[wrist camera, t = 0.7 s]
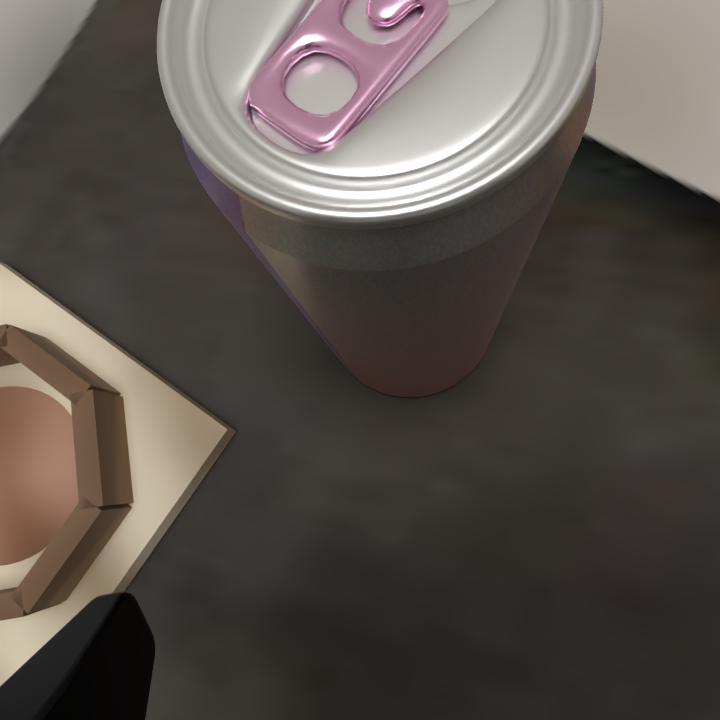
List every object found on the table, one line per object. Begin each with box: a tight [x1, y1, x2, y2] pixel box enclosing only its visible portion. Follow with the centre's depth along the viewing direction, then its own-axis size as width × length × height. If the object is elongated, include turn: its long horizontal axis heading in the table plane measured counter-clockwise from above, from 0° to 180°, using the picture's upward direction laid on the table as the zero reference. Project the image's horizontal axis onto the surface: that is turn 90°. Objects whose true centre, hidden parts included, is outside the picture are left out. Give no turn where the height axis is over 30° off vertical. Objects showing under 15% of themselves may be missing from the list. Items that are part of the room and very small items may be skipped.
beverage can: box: [157, 0, 603, 397], centre depth 15 cm, size 6×6×15 cm
